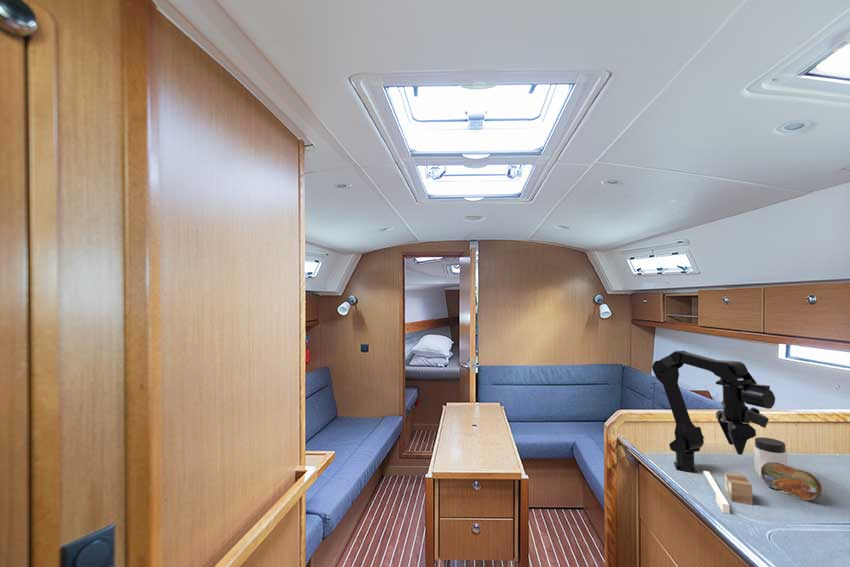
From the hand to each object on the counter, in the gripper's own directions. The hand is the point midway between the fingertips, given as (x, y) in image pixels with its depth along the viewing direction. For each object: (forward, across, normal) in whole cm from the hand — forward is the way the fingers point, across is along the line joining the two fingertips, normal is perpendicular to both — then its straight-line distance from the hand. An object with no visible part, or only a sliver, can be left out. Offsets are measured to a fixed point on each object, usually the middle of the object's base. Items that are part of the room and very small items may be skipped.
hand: (735, 449), depth 130 cm
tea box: (+13, -6, +1) cm, 14 cm away
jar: (+13, +17, -14) cm, 26 cm away
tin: (+13, +4, -15) cm, 20 cm away
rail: (+13, -6, +7) cm, 16 cm away
